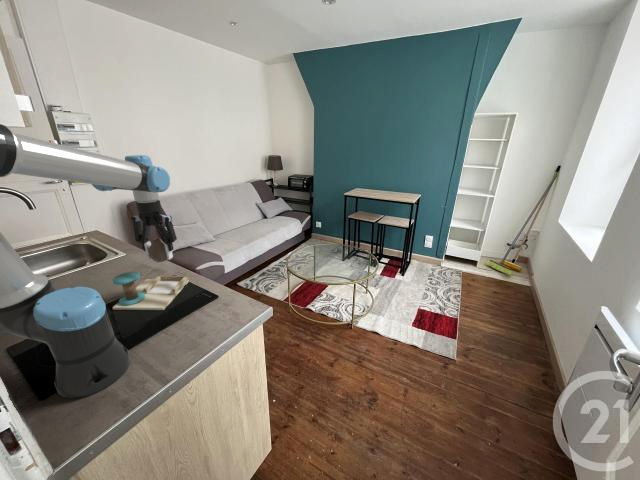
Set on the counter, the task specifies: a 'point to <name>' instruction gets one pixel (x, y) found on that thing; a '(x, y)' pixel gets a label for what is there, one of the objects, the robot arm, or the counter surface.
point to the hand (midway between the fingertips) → (160, 258)
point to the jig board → (148, 291)
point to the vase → (158, 250)
